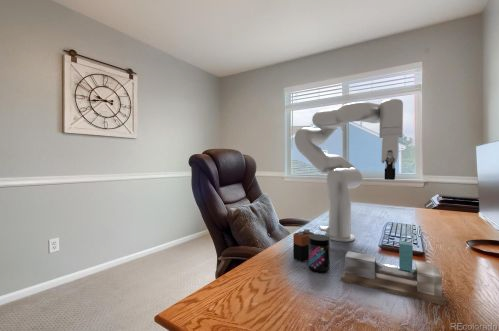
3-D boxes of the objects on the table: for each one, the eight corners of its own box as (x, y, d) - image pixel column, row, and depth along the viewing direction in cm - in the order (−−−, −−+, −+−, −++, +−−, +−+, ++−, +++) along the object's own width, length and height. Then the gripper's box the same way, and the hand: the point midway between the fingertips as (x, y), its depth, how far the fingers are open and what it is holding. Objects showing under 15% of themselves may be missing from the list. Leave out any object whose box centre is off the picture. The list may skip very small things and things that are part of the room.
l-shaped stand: (365, 272, 72) (365, 238, 72) (366, 268, 74) (366, 235, 74) (430, 286, 64) (431, 248, 64) (429, 281, 66) (429, 245, 66)
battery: (314, 258, 87) (315, 230, 87) (302, 263, 83) (302, 233, 83) (305, 254, 91) (305, 227, 91) (292, 259, 87) (292, 231, 87)
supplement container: (304, 265, 81) (304, 234, 81) (323, 264, 82) (323, 233, 82) (313, 275, 74) (313, 241, 74) (333, 273, 76) (334, 239, 75)
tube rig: (340, 280, 71) (340, 259, 71) (347, 265, 81) (348, 247, 81) (445, 305, 59) (445, 280, 59) (438, 284, 69) (438, 263, 69)
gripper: (380, 135, 101) (380, 177, 101) (377, 131, 86) (377, 179, 87) (402, 135, 97) (401, 178, 97) (402, 130, 82) (402, 180, 83)
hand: (390, 178), depth 92 cm, fingers open, 9 cm apart
